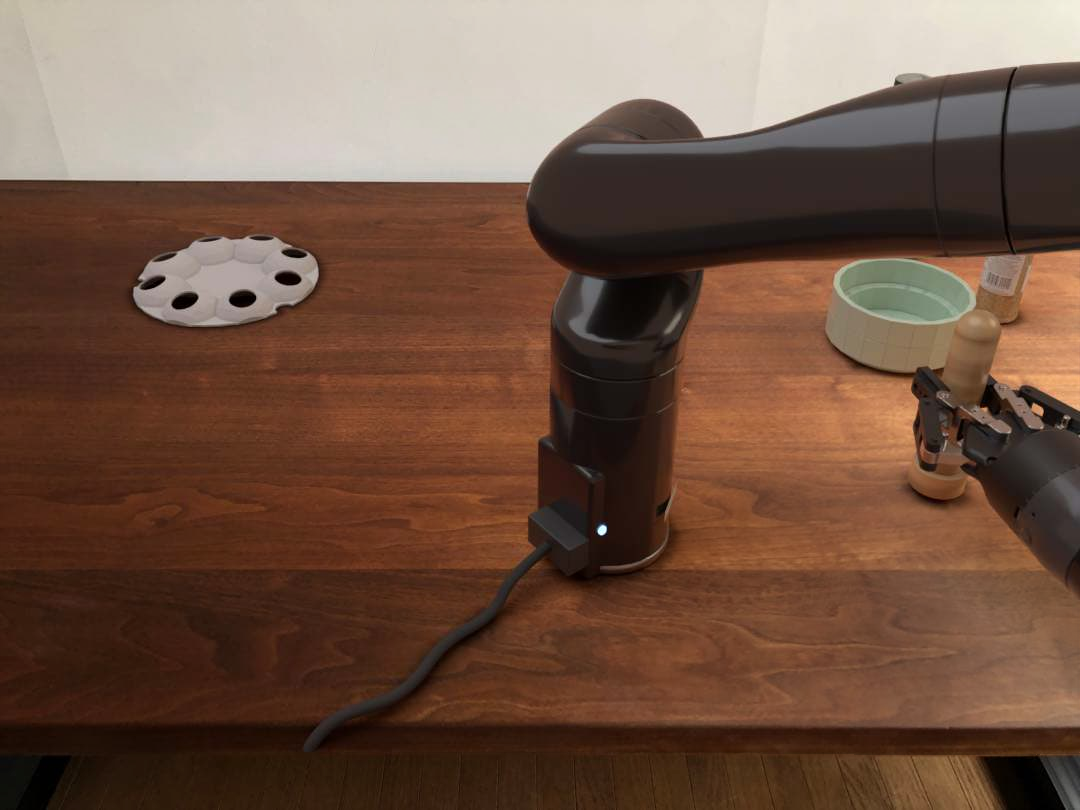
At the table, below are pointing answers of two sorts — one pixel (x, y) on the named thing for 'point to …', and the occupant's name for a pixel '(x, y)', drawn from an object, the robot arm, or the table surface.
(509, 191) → the table surface
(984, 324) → the pestle
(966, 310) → the bowl
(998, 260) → the sprinkles bottle
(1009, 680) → the table surface
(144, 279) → the paint palette
